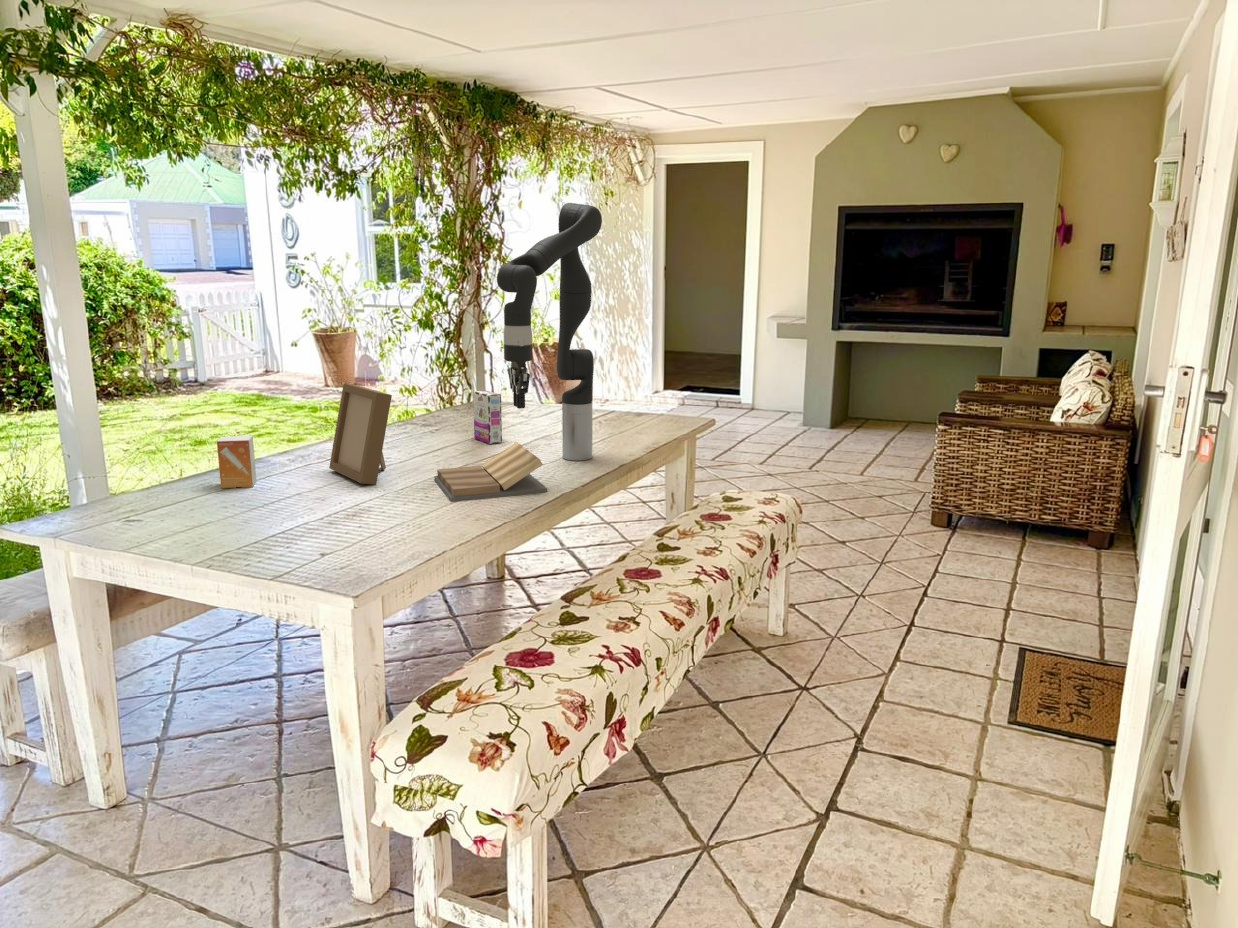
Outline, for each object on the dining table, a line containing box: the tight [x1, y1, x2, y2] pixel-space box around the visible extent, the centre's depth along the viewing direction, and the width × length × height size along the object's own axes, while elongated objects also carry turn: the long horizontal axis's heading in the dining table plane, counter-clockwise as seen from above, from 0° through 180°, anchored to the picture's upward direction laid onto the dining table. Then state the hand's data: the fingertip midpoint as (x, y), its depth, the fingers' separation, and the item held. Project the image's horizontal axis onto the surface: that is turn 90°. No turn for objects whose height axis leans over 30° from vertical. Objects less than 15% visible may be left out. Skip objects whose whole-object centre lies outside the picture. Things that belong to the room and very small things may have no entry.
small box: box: [216, 435, 257, 489], centre depth 232 cm, size 8×6×13 cm
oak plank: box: [480, 441, 543, 490], centre depth 236 cm, size 22×12×2 cm
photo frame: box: [329, 383, 393, 486], centre depth 242 cm, size 15×22×25 cm
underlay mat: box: [433, 473, 548, 502], centre depth 235 cm, size 23×26×1 cm
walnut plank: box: [436, 465, 500, 497], centre depth 232 cm, size 22×12×2 cm, turn 22°
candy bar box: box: [472, 390, 503, 445], centre depth 288 cm, size 11×5×16 cm, turn 37°
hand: (519, 407), depth 233 cm, fingers open, 2 cm apart
